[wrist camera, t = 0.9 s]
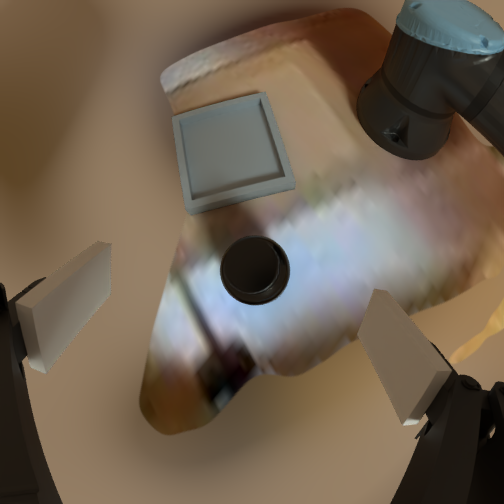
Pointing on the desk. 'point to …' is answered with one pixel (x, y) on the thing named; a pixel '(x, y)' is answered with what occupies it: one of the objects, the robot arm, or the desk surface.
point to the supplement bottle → (255, 270)
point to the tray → (230, 153)
